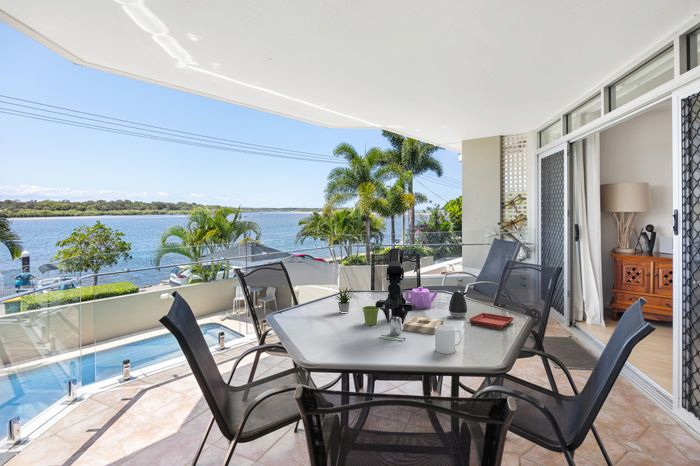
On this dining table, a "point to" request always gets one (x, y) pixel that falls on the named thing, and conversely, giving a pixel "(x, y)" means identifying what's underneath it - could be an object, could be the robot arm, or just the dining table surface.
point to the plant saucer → (491, 320)
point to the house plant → (344, 300)
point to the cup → (446, 339)
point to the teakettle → (420, 298)
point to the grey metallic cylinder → (395, 326)
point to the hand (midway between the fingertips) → (395, 322)
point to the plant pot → (370, 314)
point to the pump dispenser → (458, 304)
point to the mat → (392, 338)
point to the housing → (422, 324)
